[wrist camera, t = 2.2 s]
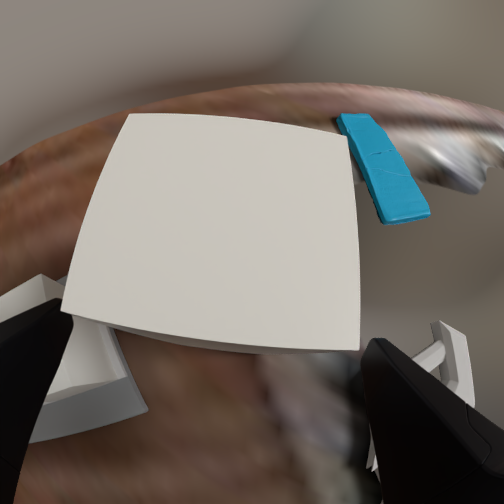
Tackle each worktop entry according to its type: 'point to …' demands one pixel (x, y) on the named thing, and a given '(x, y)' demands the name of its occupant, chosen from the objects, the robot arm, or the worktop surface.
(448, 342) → the gun
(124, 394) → the board
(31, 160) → the worktop surface
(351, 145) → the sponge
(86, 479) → the worktop surface
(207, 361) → the worktop surface
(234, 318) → the block
